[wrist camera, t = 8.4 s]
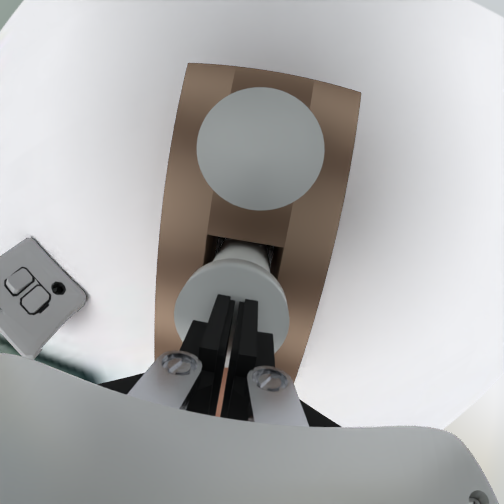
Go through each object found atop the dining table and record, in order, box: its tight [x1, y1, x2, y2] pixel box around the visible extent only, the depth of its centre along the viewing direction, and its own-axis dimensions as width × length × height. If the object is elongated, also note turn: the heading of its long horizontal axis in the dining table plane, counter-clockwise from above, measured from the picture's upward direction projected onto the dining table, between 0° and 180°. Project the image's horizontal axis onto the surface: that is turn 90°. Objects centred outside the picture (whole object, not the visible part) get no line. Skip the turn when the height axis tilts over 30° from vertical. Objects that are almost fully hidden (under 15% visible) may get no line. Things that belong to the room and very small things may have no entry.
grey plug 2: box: [174, 238, 289, 368], centre depth 16 cm, size 5×5×10 cm
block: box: [155, 63, 361, 383], centre depth 20 cm, size 24×10×6 cm, turn 170°
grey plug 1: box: [197, 87, 325, 211], centre depth 15 cm, size 5×5×10 cm
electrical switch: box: [0, 238, 86, 360], centre depth 20 cm, size 9×5×9 cm, turn 49°
